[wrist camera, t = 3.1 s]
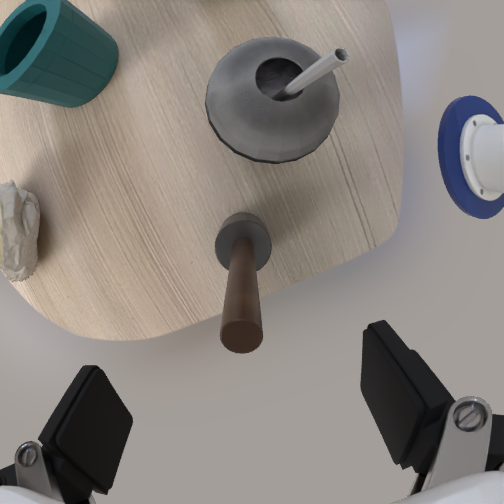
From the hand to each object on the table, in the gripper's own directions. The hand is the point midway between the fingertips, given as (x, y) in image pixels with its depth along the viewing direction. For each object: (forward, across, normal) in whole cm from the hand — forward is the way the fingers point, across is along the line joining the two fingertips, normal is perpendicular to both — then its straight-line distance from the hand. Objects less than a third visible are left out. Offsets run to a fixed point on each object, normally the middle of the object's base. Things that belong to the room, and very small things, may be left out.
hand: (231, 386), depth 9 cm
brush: (+20, -1, 0) cm, 20 cm away
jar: (+20, +13, -23) cm, 33 cm away
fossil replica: (+20, +25, -7) cm, 33 cm away
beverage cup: (+20, -4, -10) cm, 23 cm away
